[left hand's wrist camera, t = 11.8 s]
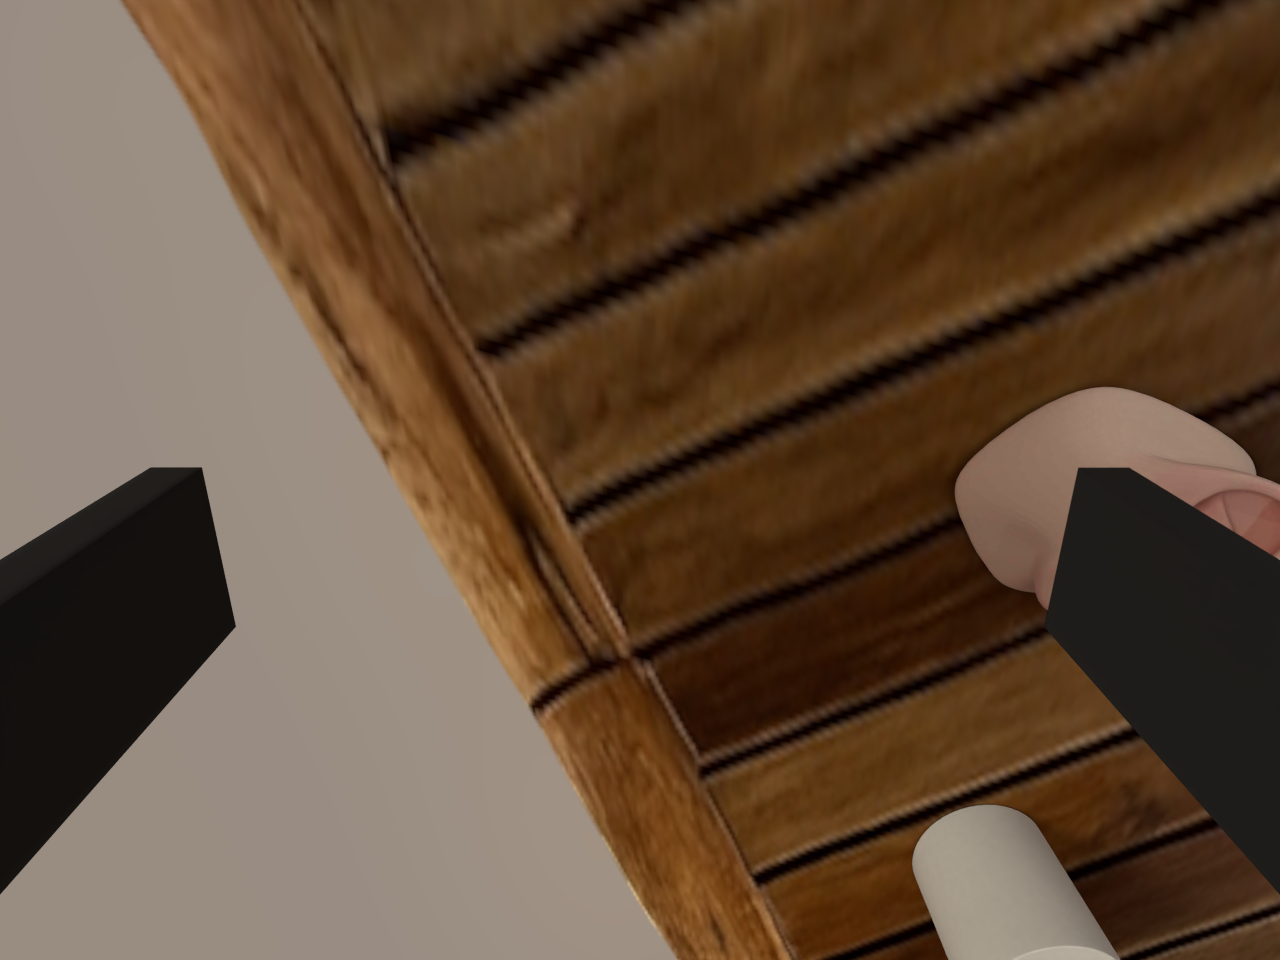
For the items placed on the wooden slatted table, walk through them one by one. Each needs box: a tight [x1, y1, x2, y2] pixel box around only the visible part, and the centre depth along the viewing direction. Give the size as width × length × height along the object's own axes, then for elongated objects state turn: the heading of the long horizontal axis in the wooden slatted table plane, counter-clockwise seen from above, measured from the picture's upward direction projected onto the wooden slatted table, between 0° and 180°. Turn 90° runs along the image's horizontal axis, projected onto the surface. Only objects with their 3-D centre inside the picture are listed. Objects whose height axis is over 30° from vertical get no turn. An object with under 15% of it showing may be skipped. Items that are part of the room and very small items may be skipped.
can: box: [912, 805, 1120, 960], centre depth 42 cm, size 8×8×9 cm
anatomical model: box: [955, 387, 1280, 610], centre depth 36 cm, size 13×4×12 cm
